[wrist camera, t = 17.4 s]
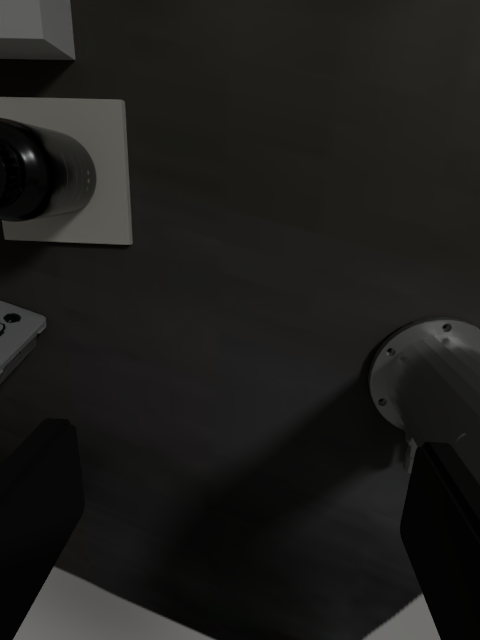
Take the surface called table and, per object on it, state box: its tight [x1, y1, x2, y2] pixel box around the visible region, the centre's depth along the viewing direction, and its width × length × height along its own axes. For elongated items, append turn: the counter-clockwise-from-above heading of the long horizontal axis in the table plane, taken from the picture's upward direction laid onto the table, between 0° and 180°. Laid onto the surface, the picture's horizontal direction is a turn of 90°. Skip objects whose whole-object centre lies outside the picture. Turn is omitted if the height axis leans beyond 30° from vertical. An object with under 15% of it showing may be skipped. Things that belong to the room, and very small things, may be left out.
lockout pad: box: [0, 97, 133, 245], centre depth 35 cm, size 12×12×1 cm
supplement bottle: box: [0, 118, 97, 222], centre depth 29 cm, size 7×7×12 cm
